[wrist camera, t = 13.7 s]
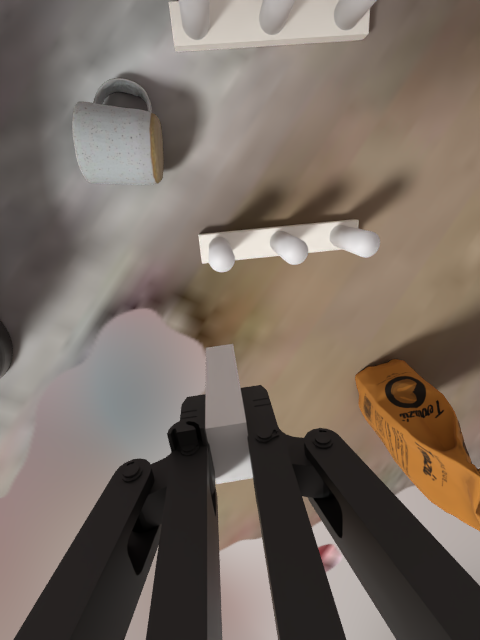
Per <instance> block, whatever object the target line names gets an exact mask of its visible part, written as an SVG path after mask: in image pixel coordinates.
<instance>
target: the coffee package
mask: <svg viewBox="0 0 480 640" xmlns="http://www.w3.org/2000/svg"><path fill="white" fill-rule="evenodd" d="M355 380H356V385H357V389H358V392H359V407H360V409H361V412H362V414H363V416H364V417H365V419H366V420H367V422H368V423H369V424H370V426H371V427H372V428H373V430H374V431H375V432H376V433H377V435H378V436H379V437H380V439H381V440H382V442H383V443H384V445H385V446H386V448H387V449H388V451H389V452H390V454H391V455H392V457H393V459H394V460H395V462H396V463H397V464H398V465H399V466H400V468H401V469H402V470H403V471H404V472H405V474H406V475H407V476H408V477H409V478H410V480H411V481H412V482H413V483H414V484H415V485H416V486H417V488H418V489H419V490H420V491H421V492H422V493H423V494H424V495H425V496H426V497H427V498H428V499H429V500H430V501H431V502H432V503H434V504H435V505H437V506H438V507H439V508H441V509H443V510H444V511H445V512H447V513H449V514H451V515H453V516H455V517H457V518H458V519H460V520H461V521H463V522H464V523H467V524H468V525H469V526H472V527H473V528H475V529H477V530H479V531H480V468H479V469H477V468H476V467H475V465H473V464H472V462H471V459H470V457H469V454H468V451H467V449H466V446H465V443H464V439H463V435H462V432H461V428H460V425H459V422H458V420H457V417H456V414H455V412H454V410H453V408H452V407H451V405H450V404H449V402H448V401H447V400H446V398H445V397H444V395H443V394H442V393H440V392H439V391H438V390H437V389H435V388H434V387H433V386H432V385H431V384H429V383H428V382H426V381H425V380H424V379H423V378H422V377H421V376H419V375H418V374H417V373H416V372H415V371H414V370H413V369H412V368H411V367H410V366H409V365H408V364H407V363H406V362H405V361H403V360H402V361H401V360H398V359H393V360H391V361H389V362H387V363H384V364H380V365H377V366H373V367H370V366H369V367H367V368H365V369H364V370H362V371H361V372H359V373H358V374H357V375H356V377H355Z"/></svg>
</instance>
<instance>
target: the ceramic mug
mask: <svg viewBox="0 0 480 640" xmlns="http://www.w3.org/2000/svg"><path fill="white" fill-rule="evenodd" d="M117 91H118V92H125V93H129V94H133V95H134V96H140V97H141V98H142V99H143V100H144V101H145V103H146V104H147V108H148V109H147V111H145V110H140V109H133V108H122V107H116V106H109V105H103V102H104V100H105V98H106V97H107V96H108V95H110V94H111V93H113V92H117ZM72 129H73V141H74V147H75V153H76V158H77V162H78V165H79V168H80V170H81V172H82V174H83V176H84V178H85V179H86V180H87V181H88V182H89V183H95V184H130V185H151V184H157V183H159V182H160V181H161V180H162V178H163V140H162V129H161V123H160V120H159V118H158V117H157V116H156V115H155V114H153V113H152V107H151V103H150V99H149V97H148V94H147V93H146V91H145V90H144V89H143V88H142V87H141V86H140V85H139V84H137V83H136V82H133V81H131V80H128V79H123V78H114V79H110V80H108V81H106V82H105V83H104V84H102V86H101V87H100V88H99V89H98V91H97V93H96V96H95V98H94V102H93V103H90V102H78V103H77V104H76V105H75V108H74V112H73V120H72Z"/></svg>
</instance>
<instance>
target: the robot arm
mask: <svg viewBox="0 0 480 640" xmlns="http://www.w3.org/2000/svg"><path fill="white" fill-rule="evenodd" d="M11 360H12V343H11V340H10V337H9V334H8V332H7V330H6V328H5V327H4V325H3V324H2V322H1V321H0V378H1V377H2V376H3V375H4V374H5V373H6V371H7V370H8V368H9V366H10V364H11ZM167 435H168V439H169V443H170V447H171V451H172V453H171V454H170V455H168V456H167V457H166V458H164V459H162V460H160V461H158V462H155V463H153V464H151V465H150V463H149V462H148V461H147V460H145V459H133V460H131V461H128V462H126V463H124V464H123V465H122V466H120V467H119V468H118V469H117V471H116V472H115V473H114V475H113V476H112V478H111V480H110V481H109V483H108V485H107V486H106V488H105V490H104V491H103V493H102V495H101V496H100V498H99V500H98V501H97V503H96V505H95V506H94V508H93V510H92V511H91V513H90V514H89V516H88V518H87V520H86V521H85V523H84V524H83V526H82V528H81V529H80V531H79V533H78V534H77V536H76V537H75V539H74V541H73V542H72V544H71V546H70V548H69V549H68V551H67V552H66V554H65V556H64V557H63V559H62V561H61V562H60V564H59V566H58V568H57V569H56V570H55V572H54V574H53V576H52V577H51V579H50V580H49V582H48V584H47V585H46V587H45V589H44V590H43V592H42V594H41V595H40V597H39V598H38V600H37V602H36V603H35V605H34V607H33V609H32V610H31V612H30V613H29V615H28V617H27V618H26V620H25V622H24V623H23V625H22V627H21V629H20V630H19V632H18V633H17V635H16V637H15V638H14V640H124V639H125V636H126V633H127V630H128V628H129V625H130V622H131V619H132V617H133V614H134V611H135V608H136V606H137V603H138V600H139V597H140V595H141V592H142V589H143V586H144V584H145V581H146V578H147V575H148V573H149V570H150V567H151V564H152V562H153V559H154V556H155V553H156V551H157V548H158V545H159V548H158V555H157V562H156V570H155V578H154V584H153V592H152V599H151V606H150V613H149V621H148V628H147V636H146V640H222V622H221V621H222V620H221V592H220V562H219V533H218V505H217V493H216V488H215V481H216V484H220V483H226V482H232V481H238V480H244V479H250V478H253V481H254V488H255V495H256V502H257V507H258V514H259V520H260V526H261V533H262V539H263V546H264V552H265V558H266V565H267V570H268V578H269V584H270V590H271V596H272V603H273V609H274V616H275V622H276V628H277V635H278V640H346V637H345V634H344V631H343V627H342V624H341V621H340V618H339V615H338V611H337V608H336V605H335V602H334V598H333V596H332V592H331V589H330V585H329V582H328V579H327V576H326V573H325V569H324V566H323V563H322V560H321V556H320V553H319V550H318V547H317V544H316V540H315V537H314V534H313V531H312V527H311V524H310V521H309V518H308V514H307V511H306V508H305V505H304V502H303V498H302V496H305V497H308V499H309V501H310V503H311V504H312V506H313V507H314V509H315V511H316V512H317V514H318V515H319V517H320V519H321V520H322V522H323V523H324V525H325V526H326V528H327V530H328V531H329V533H330V534H331V536H332V538H333V539H334V541H335V542H336V544H337V546H338V547H339V549H340V550H341V552H342V554H343V555H344V557H345V558H346V560H347V561H348V563H349V565H350V566H351V568H352V569H353V571H354V573H355V574H356V576H357V577H358V579H359V580H360V582H361V584H362V585H363V587H364V589H365V590H366V592H367V593H368V595H369V597H370V598H371V599H372V601H373V603H374V605H375V606H376V608H377V609H378V611H379V612H380V614H381V616H382V617H383V619H384V620H385V622H386V624H387V625H388V627H389V628H390V630H391V632H392V633H393V635H394V636H395V638H396V640H480V586H479V585H478V584H477V582H475V580H474V579H473V578H472V577H471V576H470V575H469V574H468V573H467V572H466V571H465V570H464V569H463V568H462V567H461V565H460V564H459V563H458V562H457V561H456V560H455V559H454V558H453V557H452V556H451V555H450V554H449V553H448V551H447V550H446V549H445V548H444V547H443V546H442V545H441V544H440V543H439V542H438V541H437V540H436V539H435V538H434V537H433V536H432V534H431V533H430V532H429V531H428V530H427V529H426V528H425V527H424V526H423V525H422V524H421V523H420V522H419V521H418V519H417V518H416V517H415V516H414V515H413V514H412V513H411V512H410V511H409V510H408V509H407V508H406V507H405V506H404V504H403V503H402V502H401V501H400V500H399V499H398V498H397V497H396V496H395V495H394V494H393V493H392V492H391V491H390V490H389V488H388V487H387V486H386V485H385V484H384V483H383V482H382V481H381V480H380V479H379V478H378V477H377V476H376V475H375V474H374V472H373V471H372V470H371V469H370V468H369V467H368V466H367V465H366V464H365V463H364V462H363V461H362V460H361V459H360V457H359V456H358V455H357V454H356V453H355V452H354V451H353V450H352V449H351V448H350V447H349V446H348V445H347V444H346V443H345V441H344V440H343V439H342V438H341V437H340V436H339V435H338V434H336V433H335V432H334V431H331V430H329V429H323V428H318V429H313V430H311V431H309V432H308V433H307V434H306V436H305V437H304V438H299V437H292V436H289V435H286V434H285V433H283V432H282V431H281V430H280V429H279V427H278V425H277V422H276V419H275V415H274V412H273V409H272V405H271V402H270V399H269V396H268V392H267V390H266V389H265V388H264V387H262V386H261V385H257V386H251V387H245V388H240V382H239V377H238V371H237V365H236V359H235V353H234V347H233V344H229V345H222V346H216V347H209V348H206V394H204V395H198V396H191V397H187V398H186V399H185V401H184V402H183V404H182V407H181V415H180V421H179V422H177V423H176V424H174V425H173V426H172V427H171V428H170V429H169V431H168V433H167Z"/></svg>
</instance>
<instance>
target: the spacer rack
mask: <svg viewBox="0 0 480 640" xmlns="http://www.w3.org/2000/svg"><path fill="white" fill-rule="evenodd" d="M376 1H377V0H179V1H175V2H169V9H170V16H171V24H172V32H173V40H174V47H175V51H176V52H187V51H202V50H218V49H233V48H248V47H263V46H279V45H294V44H309V43H325V42H340V41H355V40H363V39H364V38H365V37H366V36H367V35H368V34H369V17H370V8H371V6H372V5H373V4H374V3H375V2H376ZM358 226H359V220H355V219H352V220H341V221H331V222H320V223H310V224H299V225H289V226H279V227H268V228H258V229H247V230H237V231H226V232H216V233H205V234H199V243H200V251H201V259H202V263H209V264H210V266H211V267H212V268H213V269H214V270H216V271H218V272H226V271H228V270H230V269H231V268H232V267H233V265H234V262H235V260H241V259H251V258H261V257H271V256H281V257H282V258H283V259H284V260H285V261H286V262H288V263H289V264H292V265H297V264H300V263H302V262H303V261H304V260H305V259H306V257H307V255H308V253H311V252H321V251H331V250H341V249H344V250H346V251H349V252H351V253H354V254H356V255H359V256H361V257H370V256H372V255H374V254H375V253H376V252H377V250H378V249H379V246H380V239H379V236H378V235H377V234H376V233H374V232H371V231H367V230H362V229H358Z"/></svg>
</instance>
